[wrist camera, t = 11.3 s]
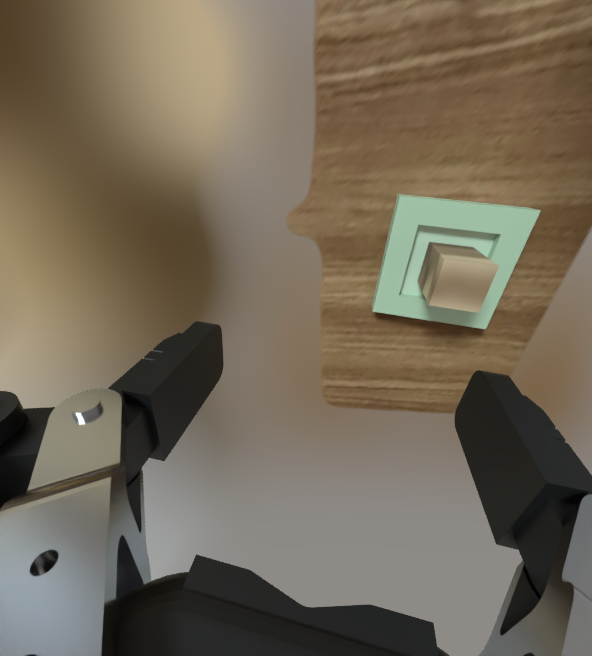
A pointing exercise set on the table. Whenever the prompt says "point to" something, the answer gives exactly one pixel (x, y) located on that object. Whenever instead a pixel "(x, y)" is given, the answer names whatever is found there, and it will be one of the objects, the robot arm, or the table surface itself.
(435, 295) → the wooden block
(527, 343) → the table surface
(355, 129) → the table surface
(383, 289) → the plate
